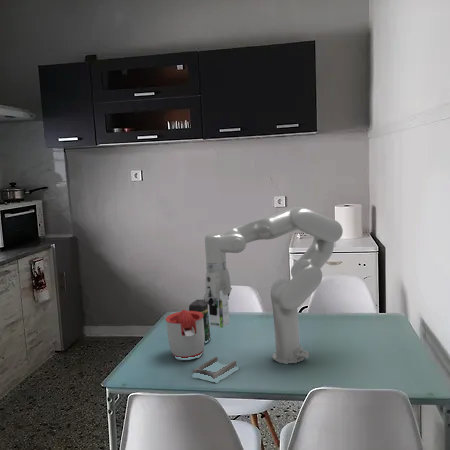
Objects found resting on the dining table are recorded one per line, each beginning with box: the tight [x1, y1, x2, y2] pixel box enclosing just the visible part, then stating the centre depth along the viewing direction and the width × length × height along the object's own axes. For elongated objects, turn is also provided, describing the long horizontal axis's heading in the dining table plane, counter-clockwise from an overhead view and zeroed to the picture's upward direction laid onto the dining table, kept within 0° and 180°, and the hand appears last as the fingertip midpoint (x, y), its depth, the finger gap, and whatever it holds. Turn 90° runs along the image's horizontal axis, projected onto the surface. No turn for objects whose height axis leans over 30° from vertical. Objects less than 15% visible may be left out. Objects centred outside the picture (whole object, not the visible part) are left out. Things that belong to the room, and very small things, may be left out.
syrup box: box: [208, 291, 230, 329], centre depth 195 cm, size 6×6×14 cm
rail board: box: [192, 356, 238, 379], centre depth 193 cm, size 12×14×3 cm
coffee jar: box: [188, 299, 211, 341], centre depth 226 cm, size 10×8×19 cm
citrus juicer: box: [165, 309, 205, 358], centre depth 210 cm, size 16×17×20 cm
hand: (219, 312), depth 195 cm, fingers closed on syrup box, 6 cm apart
